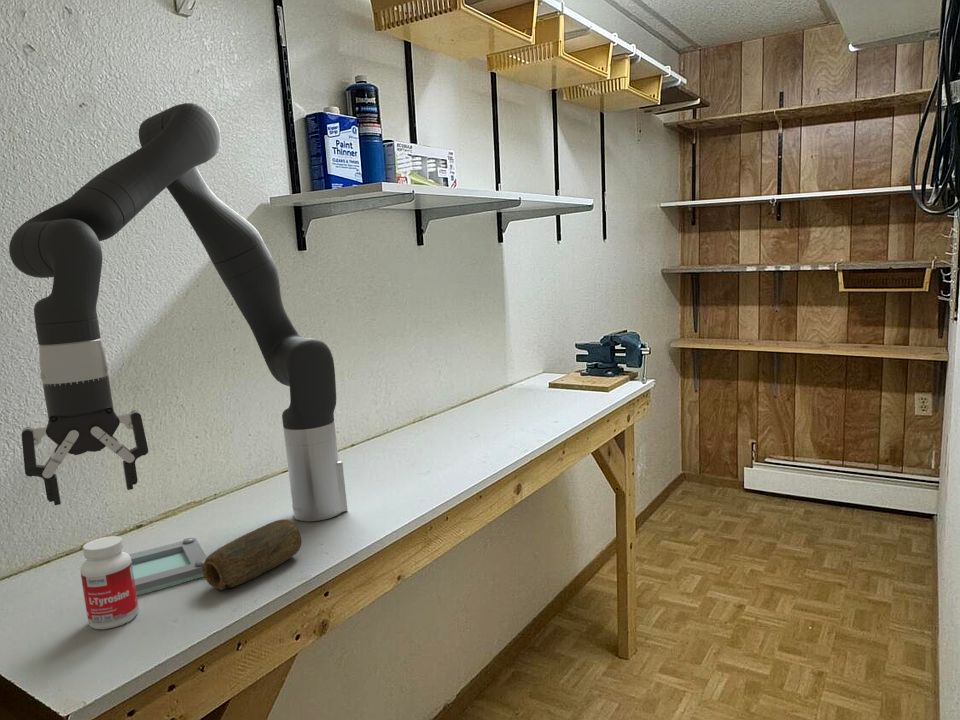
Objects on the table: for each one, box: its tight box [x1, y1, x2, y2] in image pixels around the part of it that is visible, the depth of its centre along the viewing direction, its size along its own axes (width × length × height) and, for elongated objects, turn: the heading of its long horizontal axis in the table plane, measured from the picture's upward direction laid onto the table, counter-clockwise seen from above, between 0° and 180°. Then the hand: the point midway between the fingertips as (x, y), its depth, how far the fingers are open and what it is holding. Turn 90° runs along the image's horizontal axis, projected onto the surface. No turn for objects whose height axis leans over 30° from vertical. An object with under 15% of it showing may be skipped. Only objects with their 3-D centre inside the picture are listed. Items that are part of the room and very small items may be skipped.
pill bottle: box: [80, 535, 139, 630], centre depth 96 cm, size 6×6×11 cm
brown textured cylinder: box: [203, 519, 302, 591], centre depth 108 cm, size 15×7×7 cm, turn 150°
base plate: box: [128, 537, 208, 597], centre depth 111 cm, size 14×14×2 cm
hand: (94, 495), depth 94 cm, fingers open, 8 cm apart
